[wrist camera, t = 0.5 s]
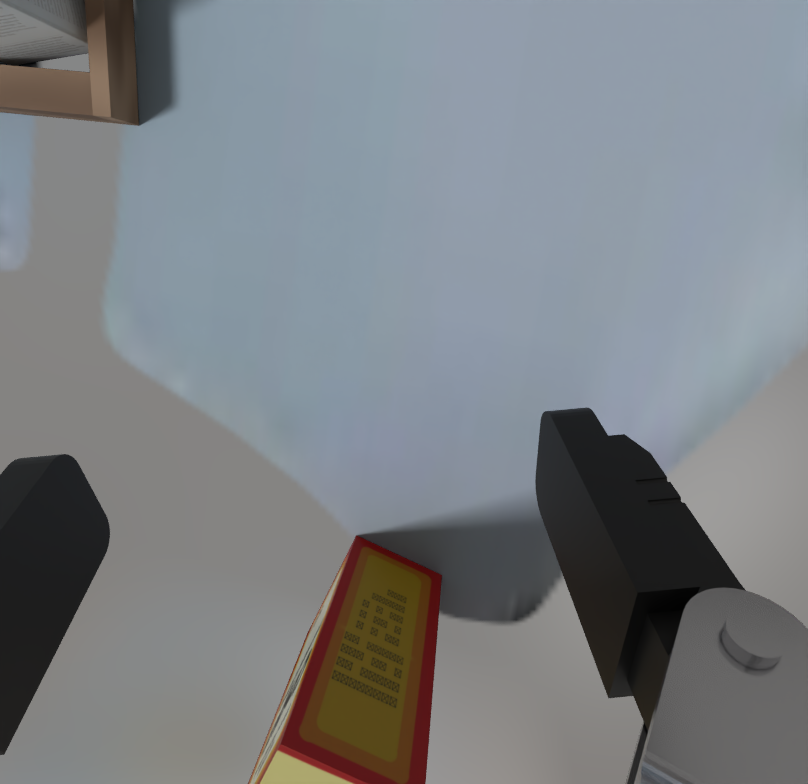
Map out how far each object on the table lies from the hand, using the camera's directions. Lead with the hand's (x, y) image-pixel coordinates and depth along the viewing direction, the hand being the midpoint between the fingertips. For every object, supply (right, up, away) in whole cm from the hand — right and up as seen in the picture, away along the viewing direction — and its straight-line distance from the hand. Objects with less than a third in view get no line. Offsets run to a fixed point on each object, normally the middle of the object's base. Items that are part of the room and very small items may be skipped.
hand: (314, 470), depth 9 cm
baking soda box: (-1, -14, +29) cm, 32 cm away
